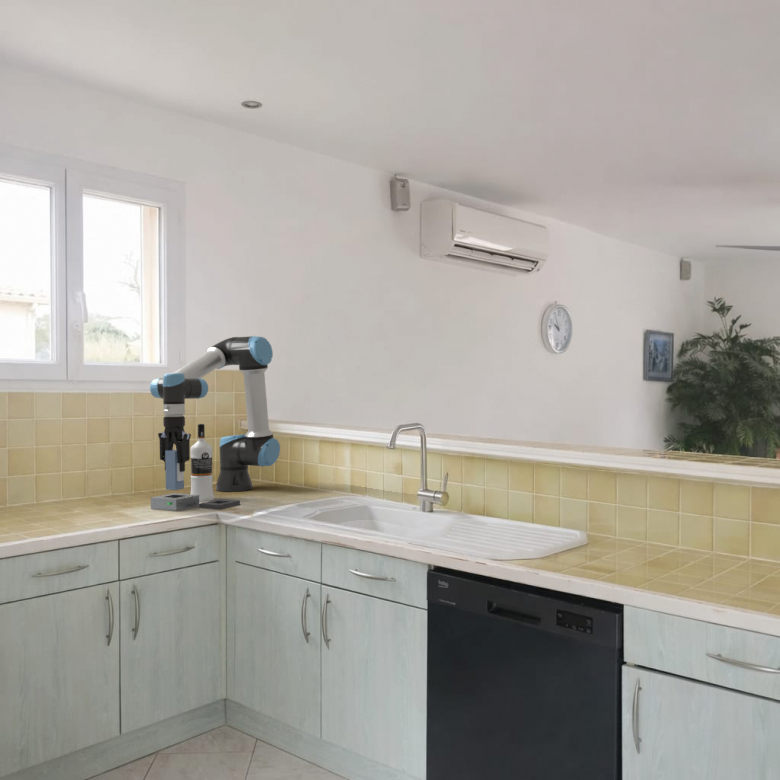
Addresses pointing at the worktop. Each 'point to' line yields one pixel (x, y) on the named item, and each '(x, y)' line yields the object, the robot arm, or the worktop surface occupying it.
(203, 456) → the vodka
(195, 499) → the block
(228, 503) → the dark grey flat frame
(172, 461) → the plug
